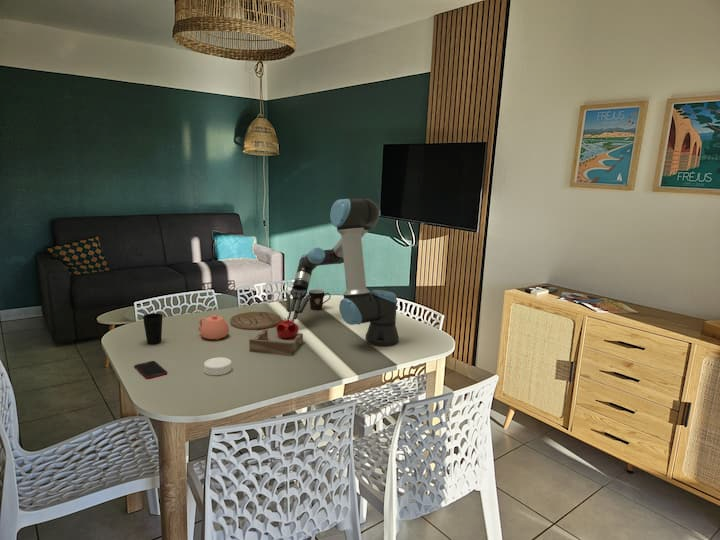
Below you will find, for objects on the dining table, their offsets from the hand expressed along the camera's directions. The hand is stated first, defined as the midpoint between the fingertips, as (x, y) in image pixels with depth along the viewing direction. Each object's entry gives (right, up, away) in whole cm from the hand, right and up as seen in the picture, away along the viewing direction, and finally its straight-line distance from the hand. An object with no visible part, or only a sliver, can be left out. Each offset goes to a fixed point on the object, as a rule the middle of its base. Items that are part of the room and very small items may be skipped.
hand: (290, 324), depth 224 cm
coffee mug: (+10, +4, +39) cm, 41 cm away
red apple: (-1, -5, -6) cm, 7 cm away
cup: (-56, -6, -19) cm, 59 cm away
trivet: (-19, -1, +14) cm, 24 cm away
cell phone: (-45, -12, -47) cm, 66 cm away
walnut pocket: (-3, -7, -18) cm, 20 cm away
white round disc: (-21, -12, -45) cm, 51 cm away
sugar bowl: (-34, -5, -9) cm, 35 cm away
